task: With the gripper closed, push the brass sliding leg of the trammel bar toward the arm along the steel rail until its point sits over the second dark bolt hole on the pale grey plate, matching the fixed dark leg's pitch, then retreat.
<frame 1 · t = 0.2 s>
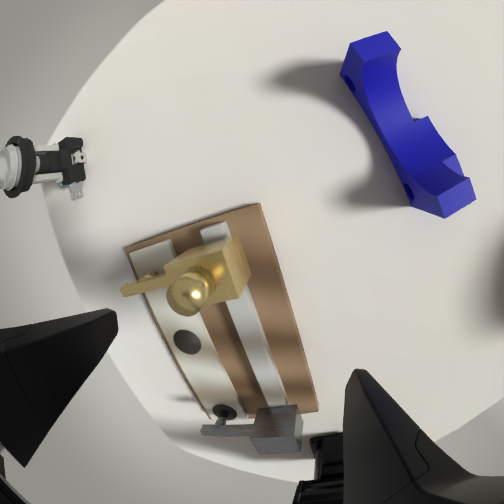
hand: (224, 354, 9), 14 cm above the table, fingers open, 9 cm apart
fixed leg: (257, 399, 27), resting on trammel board
sliding leg: (166, 284, 18), point 6 cm above the table, slide at 1.0 cm
cable clip: (399, 128, 17), on the table
push button: (80, 167, 23), on the table
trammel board: (229, 336, 25), on the table
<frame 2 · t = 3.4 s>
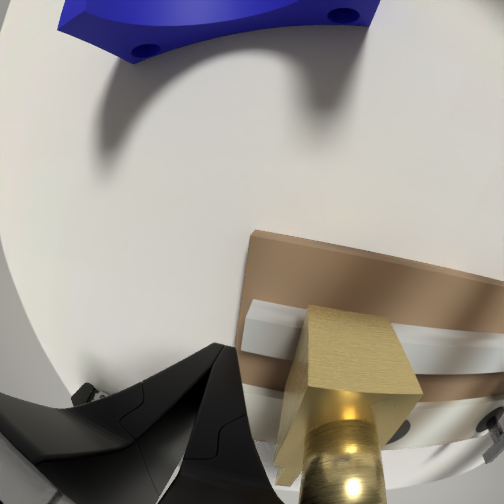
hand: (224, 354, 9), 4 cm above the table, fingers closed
sliding leg: (310, 456, 8), point 6 cm above the table, slide at 2.1 cm, touching gripper
cable clip: (240, 5, 9), on the table
push button: (115, 403, 18), on the table
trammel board: (421, 373, 12), on the table
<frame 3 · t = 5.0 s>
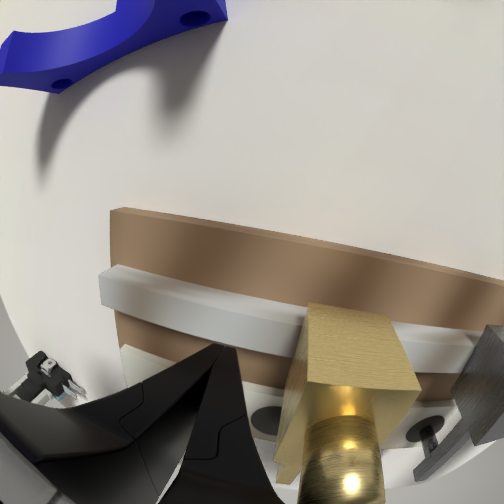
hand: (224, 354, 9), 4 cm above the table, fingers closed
fixed leg: (444, 373, 12), resting on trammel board
sliding leg: (310, 453, 8), point 6 cm above the table, slide at 9.2 cm, touching gripper
cable clip: (130, 29, 10), on the table
push button: (62, 371, 20), on the table
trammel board: (310, 361, 13), on the table
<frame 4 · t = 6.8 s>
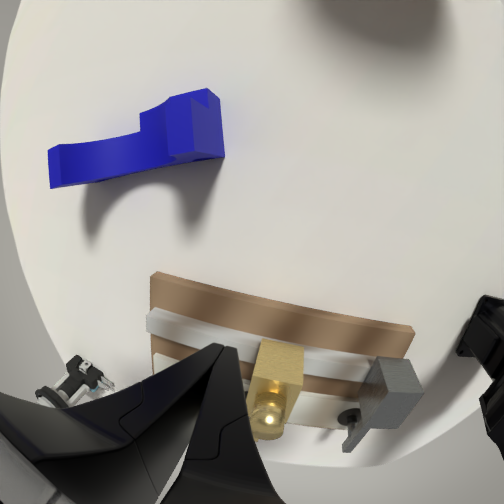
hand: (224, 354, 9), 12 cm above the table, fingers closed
fixed leg: (363, 380, 22), resting on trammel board
sliding leg: (263, 415, 17), point 6 cm above the table, slide at 9.2 cm
cable clip: (152, 142, 19), on the table
push button: (94, 370, 28), on the table
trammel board: (270, 365, 23), on the table
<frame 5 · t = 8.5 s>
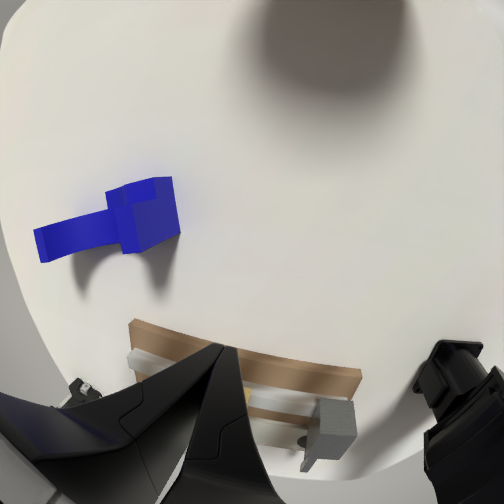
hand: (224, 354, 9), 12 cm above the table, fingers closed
fixed leg: (320, 411, 24), resting on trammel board
sliding leg: (221, 440, 19), point 6 cm above the table, slide at 9.2 cm
cable clip: (121, 214, 22), on the table
push button: (94, 390, 31), on the table
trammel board: (234, 396, 25), on the table
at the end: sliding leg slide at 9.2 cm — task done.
